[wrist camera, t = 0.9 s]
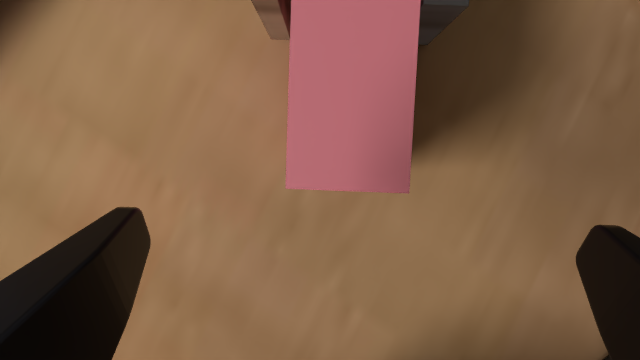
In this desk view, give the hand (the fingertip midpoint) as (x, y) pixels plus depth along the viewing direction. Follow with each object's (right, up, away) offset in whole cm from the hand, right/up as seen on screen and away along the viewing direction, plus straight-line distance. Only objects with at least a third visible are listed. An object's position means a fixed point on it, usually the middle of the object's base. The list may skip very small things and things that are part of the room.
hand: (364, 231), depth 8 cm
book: (0, +9, +17) cm, 19 cm away
